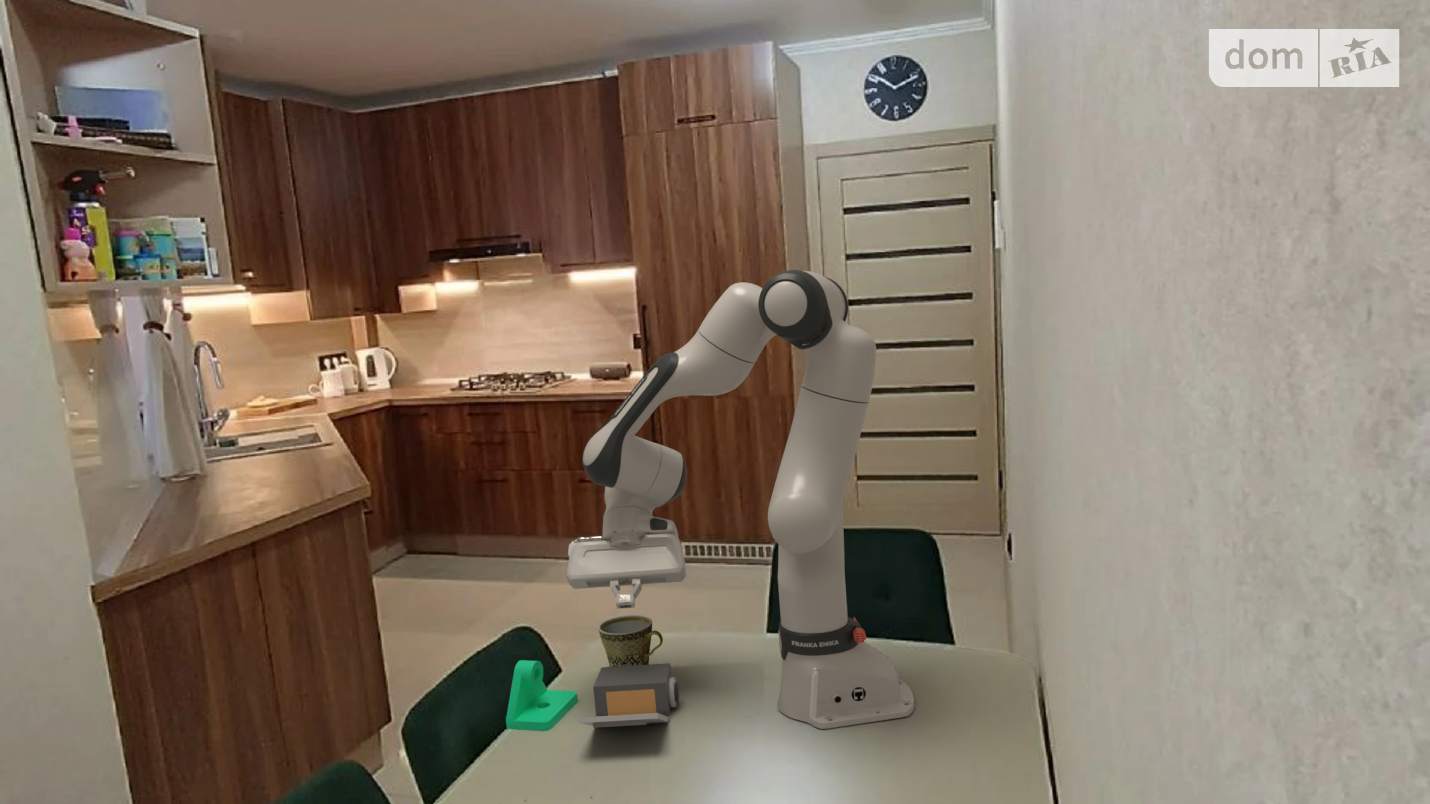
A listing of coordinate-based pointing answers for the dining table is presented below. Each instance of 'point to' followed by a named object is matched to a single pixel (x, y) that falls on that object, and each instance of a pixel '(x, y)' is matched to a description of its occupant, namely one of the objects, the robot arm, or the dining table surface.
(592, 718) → the side door
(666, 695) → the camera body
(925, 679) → the dining table surface
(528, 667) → the camera mount
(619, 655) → the ceramic cup
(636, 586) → the robot arm
